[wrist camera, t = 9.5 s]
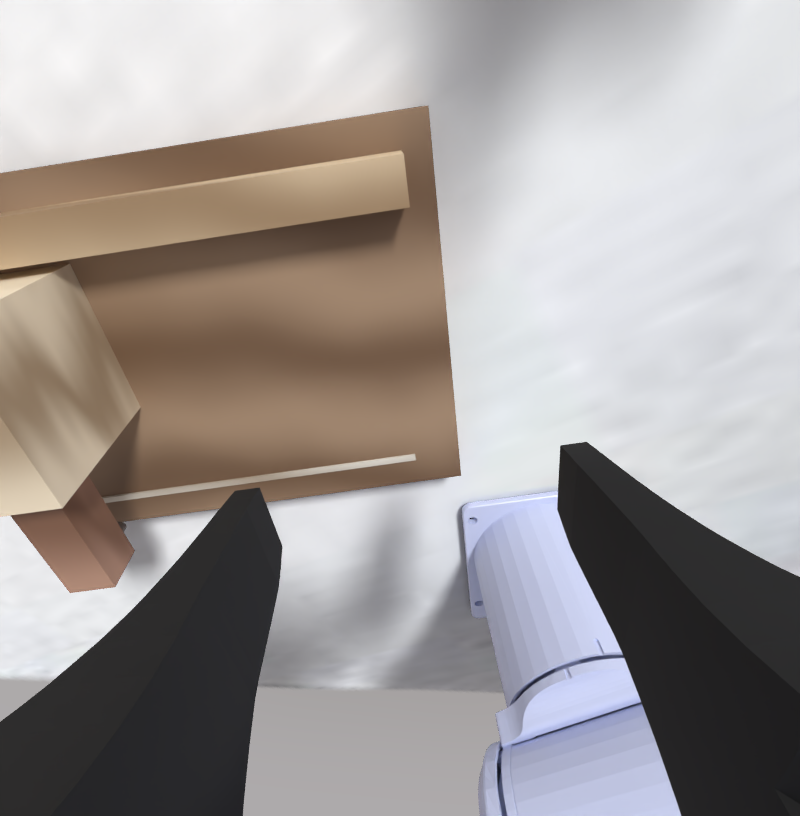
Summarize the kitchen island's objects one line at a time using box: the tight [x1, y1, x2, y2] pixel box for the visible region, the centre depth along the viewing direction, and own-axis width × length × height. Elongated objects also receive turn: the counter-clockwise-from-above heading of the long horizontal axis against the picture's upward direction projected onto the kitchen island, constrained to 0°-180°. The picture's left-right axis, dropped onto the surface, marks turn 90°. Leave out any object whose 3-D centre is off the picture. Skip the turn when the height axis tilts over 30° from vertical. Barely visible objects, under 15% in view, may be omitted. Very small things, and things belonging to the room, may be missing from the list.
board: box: [0, 106, 461, 522], centre depth 19 cm, size 15×20×3 cm
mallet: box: [0, 264, 141, 593], centre depth 17 cm, size 11×4×6 cm, turn 8°
